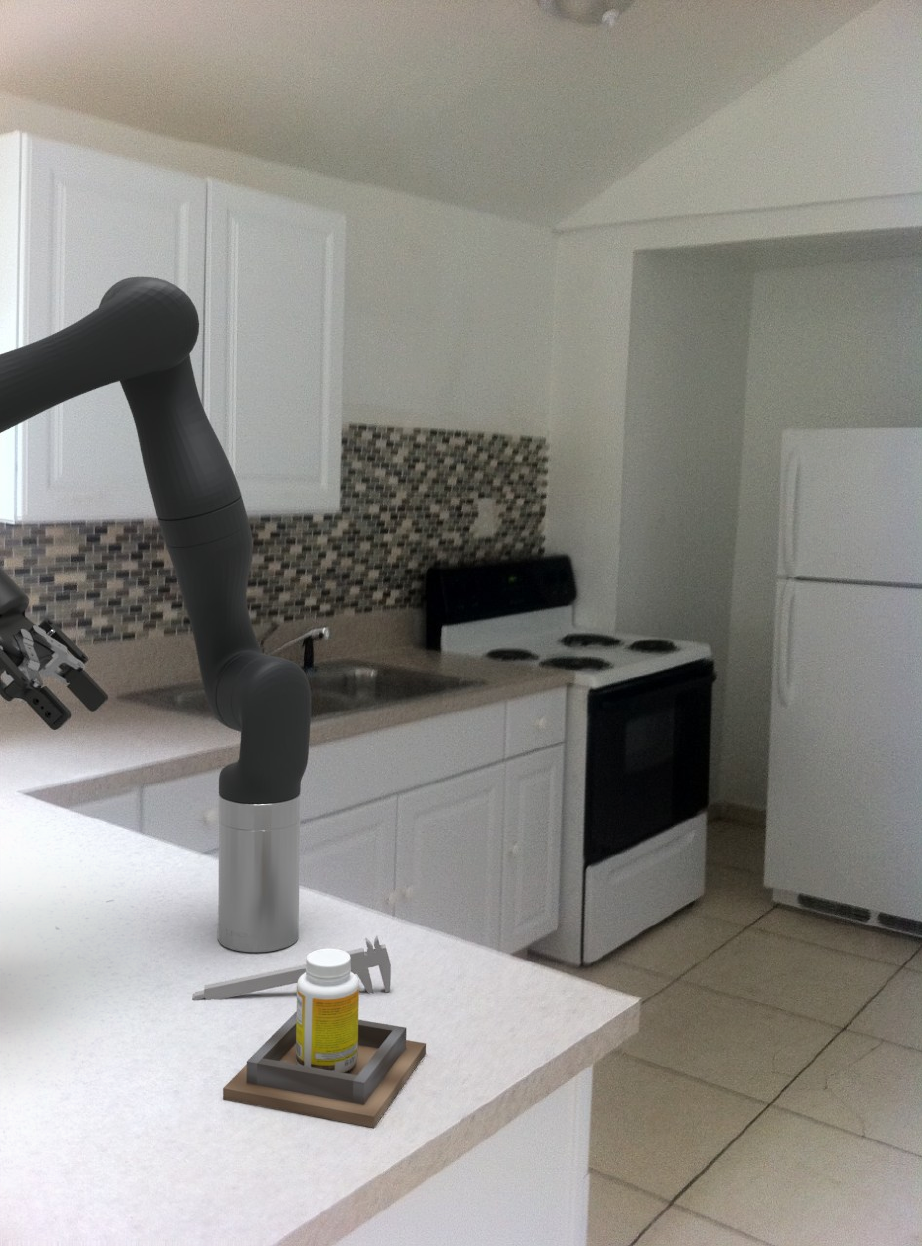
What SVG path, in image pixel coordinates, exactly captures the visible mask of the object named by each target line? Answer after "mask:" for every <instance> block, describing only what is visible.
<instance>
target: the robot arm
mask: <svg viewBox="0 0 922 1246" xmlns="http://www.w3.org/2000/svg"><path fill="white" fill-rule="evenodd" d="M199 333H200V320H199V314H198V311H197V308H196V306H195V304H194V303H193V301H192V299H191V298H190V297H189V296H188V295H187V294H186V292H185V291H184V290H182V289H181V288H180V287H178V286H177V285H176V284H174V283H172V282H170V281H168V280H166V279H163V278H158V277H153V276H132V277H131V276H130V277H126V278H123V279H121V280H119V281H117V282H115V283H114V284H112V285H111V286H110V287H109V289H107V291H106V292H105V293H104V295H102V298H101V300H100V302H99V305H98V308H96V309H95V310H93V311H92V312H90V313H88V314H86V315H85V316H84V317H83V318H81V319H80V320H78V321H76V322H74V323H72V324H71V325H69V326H67V327H65V328H63V329H61V330H59V331H57V332H54V333H53V334H50V335H48V336H46V337H44V338H41V339H39V340H37V341H35V342H31V343H28V344H26V345H24V346H21V347H17V348H15V349H11V350H9V351H6V352H3V353H0V434H1V433H4V432H6V431H7V430H10V429H11V428H13V427H15V426H18V425H19V424H21V423H23V422H25V421H28V420H29V419H31V418H33V417H35V416H37V415H39V414H42V413H43V412H45V411H47V410H49V409H52V408H54V407H56V406H58V405H61V404H62V403H64V402H66V401H69V400H72V399H74V398H76V397H78V396H81V395H84V394H87V393H89V392H92V391H95V390H96V389H100V388H103V387H105V386H108V385H112V384H114V383H118V382H119V383H120V386H121V388H122V391H123V393H124V396H125V399H126V400H127V403H128V406H129V409H130V411H131V415H132V418H133V421H134V424H135V428H136V431H137V438H138V442H139V448H140V451H141V452H140V453H141V456H142V462H143V467H144V471H145V475H146V479H147V480H146V481H147V483H148V487H149V492H150V495H151V499H152V503H153V507H154V511H155V515H156V517H157V521H158V525H159V529H160V531H161V534H162V538H163V541H164V544H165V547H166V550H167V553H168V555H169V557H170V560H171V563H172V567H173V569H174V573H175V577H176V580H177V584H178V586H179V589H180V590H179V591H180V593H181V597H182V600H183V605H184V607H185V610H186V614H187V616H188V619H189V623H190V626H191V630H192V635H193V640H194V644H195V650H196V651H195V652H196V656H197V660H198V661H197V663H198V666H199V672H200V677H201V683H202V687H203V691H204V695H205V700H206V702H207V706H208V707H209V709H210V711H211V713H212V715H213V716H214V718H215V719H216V720H218V722H220V723H221V724H222V725H224V726H225V727H226V728H229V729H232V730H233V731H236V732H237V731H238V732H240V741H239V742H240V744H239V745H240V746H239V756H238V757H239V758H238V759H237V761H235V762H232V763H230V764H228V765H226V766H224V767H223V768H222V769H221V770H220V772H219V777H218V907H217V908H218V912H217V913H218V914H217V915H218V918H217V921H218V925H217V926H218V927H217V928H218V929H217V930H218V931H217V933H218V934H217V935H218V936H217V938H218V942H219V943H220V945H222V946H224V947H225V948H227V949H230V950H233V951H238V952H244V953H267V952H273V951H278V950H282V949H284V948H285V949H286V948H287V947H290V946H291V945H294V944H295V943H296V941H298V940H299V935H300V933H299V931H300V929H299V928H300V925H299V924H300V923H299V921H300V876H301V875H300V874H301V873H300V870H301V869H300V868H301V867H300V865H301V864H300V862H301V796H302V795H301V790H302V789H301V788H302V787H301V785H302V780H303V777H304V774H305V772H306V769H307V768H308V762H309V754H310V739H311V737H310V736H311V722H312V720H311V719H312V690H311V686H310V685H311V684H310V682H309V679H308V676H307V675H306V672H305V671H304V669H303V668H302V667H301V666H300V665H299V664H297V663H295V662H294V661H292V660H289V659H286V658H283V657H279V656H273V655H270V654H265V653H264V652H263V651H262V648H261V647H260V646H261V645H259V641H258V638H257V637H256V633H255V630H254V627H253V624H252V620H251V617H250V613H249V608H248V601H247V592H248V591H247V590H248V582H249V576H250V572H251V566H252V557H253V534H252V529H251V525H250V521H249V518H248V513H247V511H246V507H245V502H244V499H243V496H242V493H241V489H240V486H239V484H238V481H237V478H236V475H235V473H234V469H233V468H232V465H231V464H230V460H229V459H228V457H227V455H226V453H225V452H226V451H224V447H223V446H222V443H221V441H220V440H219V438H218V435H217V434H216V431H215V430H214V428H213V426H212V423H211V422H210V420H209V418H208V416H207V413H206V411H205V409H204V406H203V403H202V401H201V398H200V395H199V391H198V387H197V384H196V383H197V382H196V379H195V373H194V369H193V366H192V365H193V364H192V360H191V352H193V349H194V347H195V345H196V343H197V342H198V338H199V335H200V334H199ZM29 604H30V597H29V595H28V594H27V593H26V592H25V591H24V590H23V589H22V588H21V587H20V585H18V584H17V583H16V582H15V581H14V579H12V578H11V576H10V575H9V574H8V573H7V572H6V571H5V570H4V569H3V568H2V567H1V566H0V696H1V698H3V699H4V700H5V701H6V702H12V701H14V699H16V700H17V701H19V702H20V703H22V704H25V703H26V704H28V706H29V707H30V708H31V709H32V710H33V711H34V712H35V713H36V714H37V715H38V717H40V718H41V720H42V721H43V722H44V723H45V724H46V725H47V727H49V728H50V729H51V730H53V731H56V730H59V729H61V728H62V727H63V726H64V725H65V724H66V723H68V722H69V720H70V719H71V718H72V711H71V710H69V708H68V707H67V706H66V705H65V704H64V702H62V701H61V699H59V698H58V697H57V696H56V694H55V693H54V692H53V691H52V690H51V689H50V688H49V687H48V686H47V685H44V682H43V680H42V677H44V678H48V677H53V678H55V679H56V680H58V681H59V682H61V683H63V684H65V685H66V688H67V689H68V690H69V691H71V693H72V694H73V695H74V696H75V697H76V698H77V699H78V700H79V701H80V702H81V703H82V705H83V706H84V707H85V708H86V709H87V710H88V711H89V712H90V713H91V712H94V713H95V712H96V711H98V710H100V708H102V707H103V705H104V704H105V703H106V702H107V701H108V700H109V696H108V694H107V693H106V692H105V690H104V689H102V688H101V686H99V684H98V682H96V681H95V680H94V679H93V677H92V676H91V675H90V674H89V673H88V672H86V670H85V669H86V663H88V662H89V658H88V656H87V655H86V654H85V652H83V651H82V650H81V649H80V648H79V646H78V645H76V644H75V642H73V640H72V639H70V637H69V636H68V635H66V633H64V632H63V630H62V629H60V628H59V626H58V625H57V624H56V623H55V622H54V621H53V620H51V618H49V617H45V618H44V619H43V620H42V621H41V622H39V623H38V625H37V624H36V623H34V622H33V621H32V620H31V619H29V618H28V617H27V616H26V610H27V609H28V608H29ZM41 676H42V677H41ZM1 677H2V678H3V679H2V678H1Z"/></svg>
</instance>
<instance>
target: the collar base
mask: <svg viewBox="0 0 922 1246" xmlns="http://www.w3.org/2000/svg"><path fill="white" fill-rule="evenodd" d="M296 1023H297V1010H296V1011H295V1012H294V1013H293V1014H292V1015H291V1016H290V1017H289V1018H288V1019H287V1020H286V1021H285V1022H284V1023H283V1024H282V1025H281V1026H280V1027H279V1028H278V1029H277V1030H276V1031H275V1032H274V1033H273V1034H272V1035H271V1036H270V1037H269V1038H268V1039H267V1040H266V1041H265V1042H264V1043H263V1044H262V1046H261V1047H259V1049H258V1050H257V1051H256V1052H254V1053H253V1054H252V1055H251V1056H250V1057H249V1058H248V1059H247V1061H246V1064H245V1065H244V1066H243V1068H241V1069H240V1070H239V1071H238V1072H237V1074H235V1075H234V1076H233V1077H232V1078H231V1080H229V1081H228V1083H226V1085H224V1086H223V1088H222V1099H223V1100H227V1101H232V1102H237V1103H242V1104H247V1105H253V1106H257V1107H264V1108H268V1109H273V1110H278V1111H284V1112H289V1113H294V1114H299V1115H306V1116H310V1117H316V1118H320V1119H326V1120H331V1121H335V1122H341V1123H347V1124H352V1125H357V1126H363V1127H368V1128H372V1129H373V1128H375V1127H376V1125H377V1124H378V1123H379V1121H380V1119H382V1117H383V1116H384V1114H385V1113H386V1111H388V1108H389V1107H390V1105H391V1104H392V1103H393V1101H394V1100H395V1098H396V1097H397V1095H398V1094H399V1093H400V1091H401V1090H402V1088H403V1087H404V1085H406V1083H407V1082H408V1080H409V1078H410V1077H411V1075H412V1074H413V1072H414V1071H415V1070H416V1069H417V1067H418V1066H419V1065H420V1062H421V1061H422V1060H423V1058H424V1057H425V1055H426V1054H427V1043H425V1042H421V1041H414V1040H409V1039H408V1040H407V1027H405V1026H399V1025H394V1024H393V1025H392V1024H387V1023H382V1022H374V1021H368V1020H362V1019H358V1053H357V1061H356V1063H355V1065H354V1066H353V1067H352V1068H351V1069H350V1070H349V1071H347V1072H345V1073H341V1072H336V1071H330V1070H325V1069H319V1068H313V1067H308V1066H302V1065H298V1064H297V1061H296Z"/></svg>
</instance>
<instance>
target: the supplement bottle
mask: <svg viewBox="0 0 922 1246" xmlns="http://www.w3.org/2000/svg"><path fill="white" fill-rule="evenodd" d="M305 964H306V972H305V973H304V974H303V975H301V976H300V978H299V979H298V982H297V983H296V1011H297V1023H296V1061H297V1064H298V1065H302V1066H308V1067H313V1068H319V1069H325V1070H330V1071H336V1072H341V1073H345V1072H347V1071H349V1070H350V1069H351V1068H352V1067H353V1066H354V1065H355V1063H356V1061H357V1053H358V1020H359V999H360V997H359V995H360V983H359V981H360V980H359V979H358V978H359V977H358V976H357V974H354V973H352V972H351V957H350V955H349V954H348V953H347V952H346V951H344V950H341V949H338V948H322V949H321V948H320V949H318V950H317V949H316V950H314V951H311V952H310V953H309V954H308V955H307V956H306V962H305Z"/></svg>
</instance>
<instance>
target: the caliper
mask: <svg viewBox="0 0 922 1246" xmlns="http://www.w3.org/2000/svg"><path fill="white" fill-rule="evenodd" d="M378 936H379V935H376V936H375V938H374V941H373V944H372V942H371V941H370V940H369V939H368V938H367V937H365V938H364V940H365V943H366V944H365V945H366V951H364V948H362V947H361V948H356V949H351V950H346V951H345V952H347V953H348V954H349V955H350V957H351V972H352V973H354V974H355V975H356V976H357V978H359V979H358V980H359V981H360V983H361V984H362V985H363V987H364V989H365V990H366V992H367V994H368V993H373V994H374V991H373V989H374V988H373V983H372V978H371V974H370V970H369V968H374V967H376V966H378V968H379V972H380V976H381V980H382V982H383V987H384V992H385V993H386V992H387V993H389V992H390V991H391V976H392V974H391V973H392V966H391V960H390V956H389V953H388V950H387V947H386V944H383V943H382V944H380V941H379V937H378ZM305 972H306V963H305V964H299V965H295V966H290V967H285V968H280V969H277V970H272V971H271V970H270V971H266V972H261V973H258V974H252V975H247V976H242V977H239V978H234V979H228V980H223V981H219V982H214V983H210V984H205V985H204V987H203V988H204V989H203V990H198V991H195V992H194V993H192V999H191V1000H193V1001H198V1000H201V999H205V1001H207V1000H209V1001H210V1000H211V999H214V1000H223V999H227V998H233V997H236V996H237V997H238V996H242V995H243V996H244V995H246V994H251V993H255V992H260V991H264V990H269V989H274V988H279V987H284V986H290V985H294V984H297V982H298V979H299V978H300V976H301V975H303V974H304V973H305ZM211 1001H212V1000H211Z"/></svg>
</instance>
